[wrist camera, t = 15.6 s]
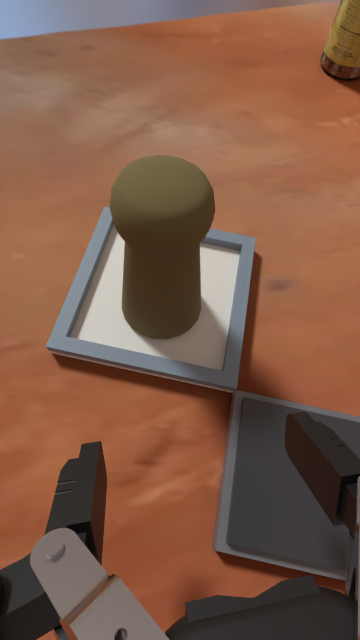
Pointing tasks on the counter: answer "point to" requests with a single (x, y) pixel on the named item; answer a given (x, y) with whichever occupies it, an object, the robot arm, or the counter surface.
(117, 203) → the olive tapered round piece
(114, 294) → the blank framed board
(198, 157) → the counter surface
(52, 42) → the counter surface
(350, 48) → the sauce bottle
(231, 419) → the ink pad
